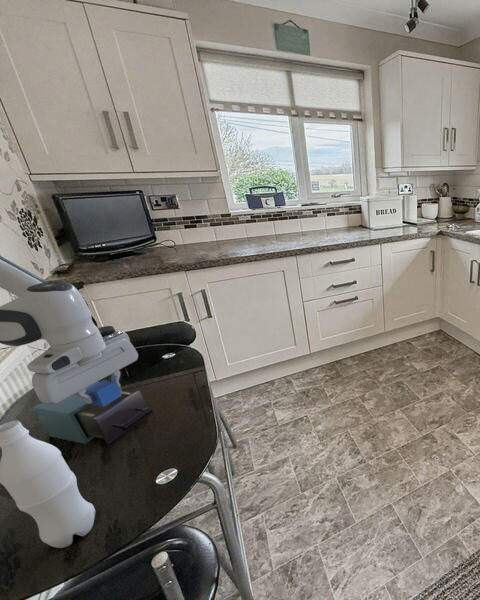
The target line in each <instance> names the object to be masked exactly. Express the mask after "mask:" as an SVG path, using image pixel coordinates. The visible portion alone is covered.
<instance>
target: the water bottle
mask: <svg viewBox="0 0 480 600" xmlns="http://www.w3.org/2000/svg"><path fill="white" fill-rule="evenodd" d="M29 433H30V431H29V429H27V428H26V427H24V426H23V424H22V423H21V422H20V421H19V420H12V421H11V420H10V421H8V422H5V423H3V424H1V425H0V449H1V458H0V485H2V486H3V487H4V488H5V489H6V491H7V493H8V494H9V495H10V497H11V498H12V499H13V501H14V502H15V505H16V507H17V508H18V509H19V511H20V512H24V513H26V514H28V515H29V516H30V517H32V518H33V520H34V521H35V523H36V524H37V528H38V535H39V538H40V540H41V541H42V542H43V543H44V544H46V545H48V546H50V547H52V548H56V549H64V548H67V547H70V546H71V545H73V541H74V536H75V535H77V536H80V537H85V536H86V535H88V533H90V532H91V530H92V529H93V527H94V522H95V518H96V509H95V506H94V504H93V503H91V502H88V501H87V500H86V499H85V498H83V496H82V495H81V493H80V491H79V488H78V482H77V481H78V480H77V477H76V475H75V473H74V472H73V471H72V470H71V469H70V466H69V465H68V464H67V462H66V460H65V459H64V457H63V455H62V451H61V450H60V449H59V448H58V447H57V446H54V445H53V444H51V443H48V442H46V441H43V440H39V439H37V438H34V437H32V436H31V435H30V434H29Z"/></svg>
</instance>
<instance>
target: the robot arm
mask: <svg viewBox="0 0 480 600" xmlns="http://www.w3.org/2000/svg"><path fill="white" fill-rule="evenodd" d="M0 288H1V289H3V290H4V291H6V292H9V294H10V293H11V294H12V295H14V296H17V297H15V298H14V299H13V300H11V301H9V302H7V303H5V304H2V305H0V344H1V345H4V346H10V347H21V346H24V345H28V344H31V343H35V342H37V341H40V340H45V341H47V343H48V345H49V348H48V349H46V350H45V351H44V352H42V353H41V354H39V355H38V356H37V357H35V358H34V359H33V360H31V361H30V362H29V363H27V365H26V366H27V369H28V370H29V372H32V373H34V374H32V377H31V385H32V388H33V390H34V392H35V395H36V397H37V398H38V400H39V401H40V402H41V403H47V404H57V403H59V402H61V401H62V400H64V399H66V398H68V397H70V396H72V395H77V396H79V397H81V398H83V399H84V401H85V402H86V403H87V404H91V403H93V402H94V401H96V400H97V399H96V398H95V395H91V394H88V395H86V394H84V393H85V392H86V390H85V388H86V387H88V386H90V385H92V384H94V383H96V382H100V381H102V380H104V379H105V378H107V377H109V376H111V379H110V381H113V382H115V383H116V385H117V387H121V383H120V378H121V371H120V370H122V369H124V368H126V367H127V366H130V365H131V364H134V362H136V361H138V359H139V353H138V351H137V350H136V348H135V347H134V345H133V343H132V342H131V339H130V336H129V335H128V333H127V332H125V331H119V330H117V331H115V332H114V333H113V334H111V335H108V336H105V337H103V338H102V336H101V333H100V331H99V329H98V328H99V327H98V326H97V325H96V324H95V323H94V321H93V319H92V318H93V317H92V312H91V310H90V308H89V305H88V303H87V302H86V300H85V298H84V297H83V295H82V293H81V292H80V291H79V290H78V288H77V287H75V286H74V285H73V284H72V283H69V282H65V281H47V280H45V279H43V278H42V277H39V276H38V275H36V274H34V273H32V272H30V271H29V270H27V269H25V268H23V267H21V266H20V265H17V264H16V263H14V262H12V261H11V260H9V259H7V258H5V257H3V256H2V255H0Z"/></svg>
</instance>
